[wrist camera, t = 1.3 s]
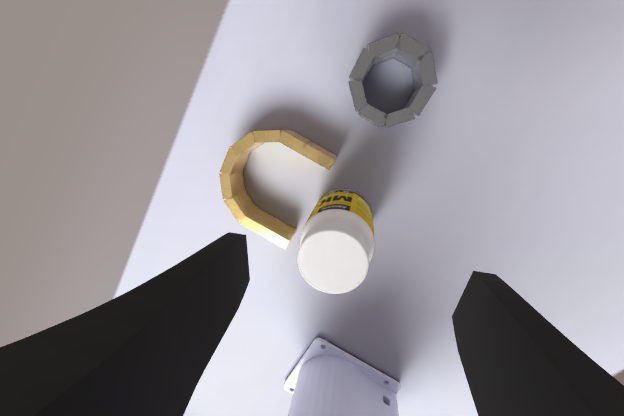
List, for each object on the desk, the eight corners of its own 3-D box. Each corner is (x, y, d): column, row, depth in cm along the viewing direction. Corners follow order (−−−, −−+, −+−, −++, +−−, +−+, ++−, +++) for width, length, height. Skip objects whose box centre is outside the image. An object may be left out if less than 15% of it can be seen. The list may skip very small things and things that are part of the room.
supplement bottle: (354, 177, 22) (351, 207, 14) (382, 226, 22) (393, 282, 14) (304, 204, 23) (274, 245, 15) (331, 249, 24) (316, 312, 16)
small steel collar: (441, 69, 18) (453, 61, 16) (398, 137, 20) (404, 139, 18) (376, 33, 18) (378, 19, 16) (339, 104, 20) (336, 101, 18)
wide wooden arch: (337, 155, 21) (334, 159, 19) (292, 236, 24) (285, 249, 22) (257, 111, 21) (244, 109, 19) (221, 196, 24) (206, 204, 22)
